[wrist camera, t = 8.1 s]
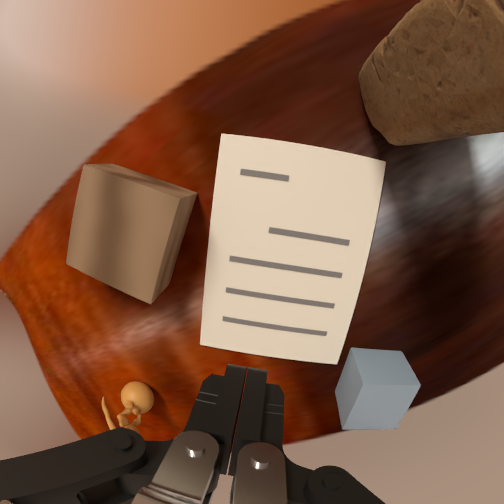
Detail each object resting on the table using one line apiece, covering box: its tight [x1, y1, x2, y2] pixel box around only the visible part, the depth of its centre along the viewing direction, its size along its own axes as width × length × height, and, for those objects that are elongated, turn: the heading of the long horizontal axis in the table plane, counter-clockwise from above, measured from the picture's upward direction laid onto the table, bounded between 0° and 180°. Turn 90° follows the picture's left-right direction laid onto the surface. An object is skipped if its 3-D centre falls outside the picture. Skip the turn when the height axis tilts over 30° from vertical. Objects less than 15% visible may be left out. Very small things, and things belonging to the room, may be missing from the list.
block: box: [359, 0, 504, 146], centre depth 12 cm, size 11×8×20 cm
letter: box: [200, 134, 386, 364], centre depth 26 cm, size 14×20×1 cm
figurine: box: [102, 381, 154, 433], centre depth 26 cm, size 8×6×12 cm
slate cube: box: [335, 348, 421, 430], centre depth 26 cm, size 6×6×6 cm
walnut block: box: [66, 164, 197, 304], centre depth 25 cm, size 9×9×5 cm
